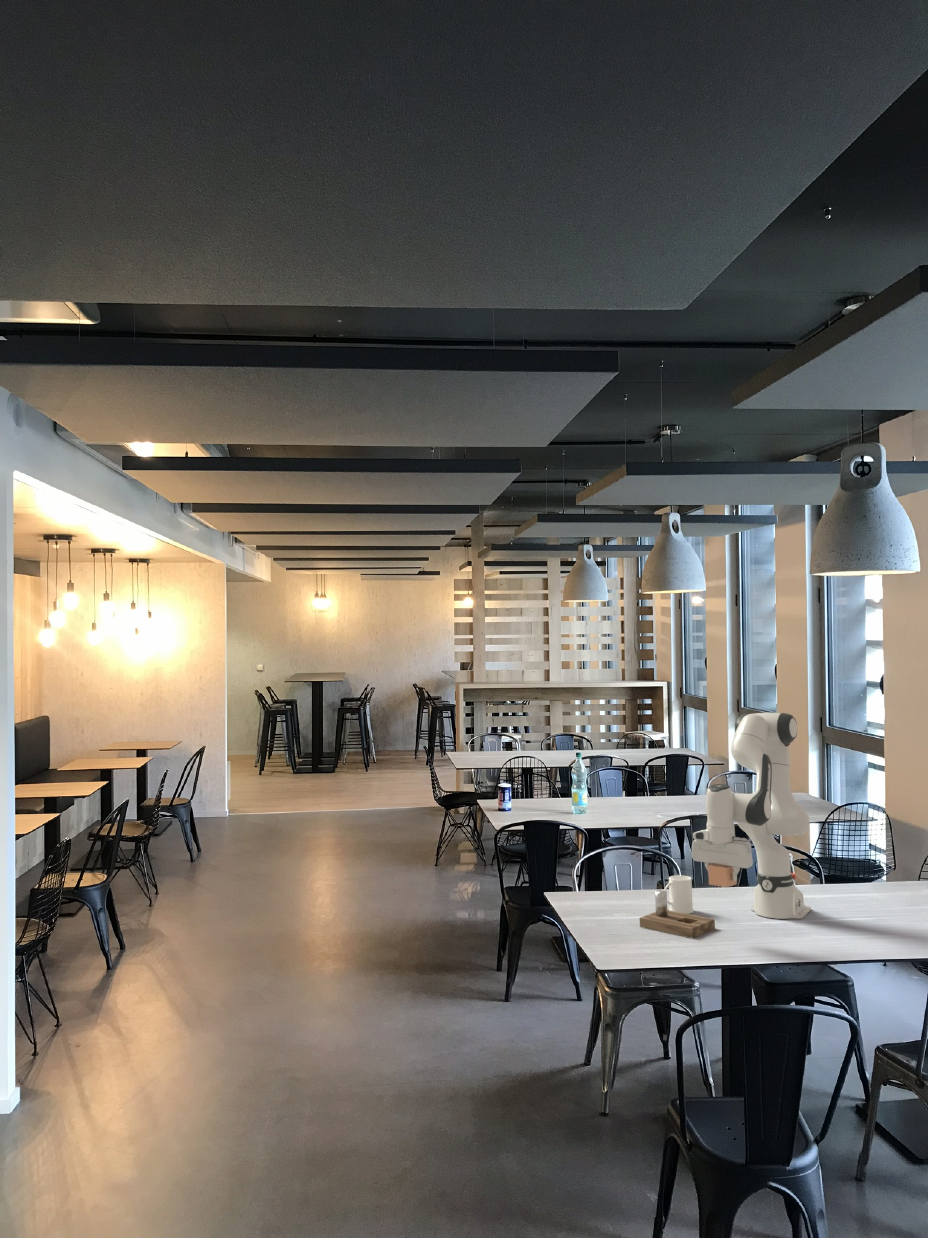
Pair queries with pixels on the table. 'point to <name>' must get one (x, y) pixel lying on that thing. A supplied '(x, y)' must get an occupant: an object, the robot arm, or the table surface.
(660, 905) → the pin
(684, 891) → the mug
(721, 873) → the tan wooden block
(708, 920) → the board
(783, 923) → the table surface
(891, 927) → the table surface
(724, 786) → the robot arm
